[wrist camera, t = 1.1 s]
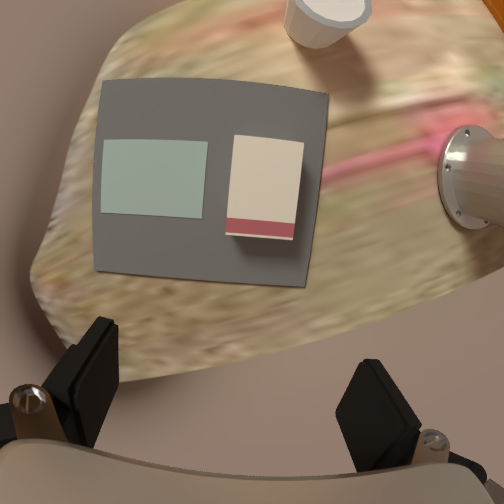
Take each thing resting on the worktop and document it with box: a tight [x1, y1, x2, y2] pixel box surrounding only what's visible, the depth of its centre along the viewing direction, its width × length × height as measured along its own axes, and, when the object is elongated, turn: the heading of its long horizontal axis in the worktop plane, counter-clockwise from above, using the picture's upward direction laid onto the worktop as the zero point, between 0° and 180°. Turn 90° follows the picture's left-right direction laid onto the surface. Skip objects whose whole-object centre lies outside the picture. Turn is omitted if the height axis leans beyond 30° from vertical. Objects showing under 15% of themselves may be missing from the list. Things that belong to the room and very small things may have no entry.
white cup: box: [284, 0, 372, 49], centre depth 20 cm, size 7×7×7 cm
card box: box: [225, 135, 304, 240], centre depth 26 cm, size 8×6×4 cm
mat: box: [92, 78, 329, 287], centre depth 27 cm, size 22×19×1 cm
